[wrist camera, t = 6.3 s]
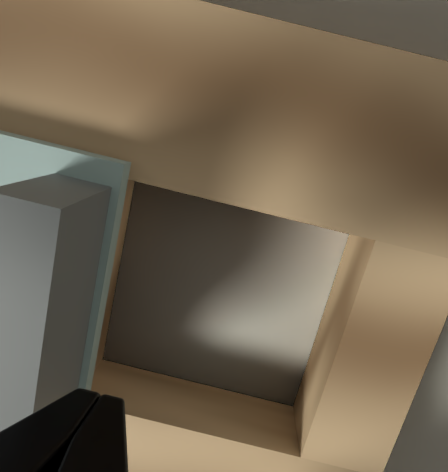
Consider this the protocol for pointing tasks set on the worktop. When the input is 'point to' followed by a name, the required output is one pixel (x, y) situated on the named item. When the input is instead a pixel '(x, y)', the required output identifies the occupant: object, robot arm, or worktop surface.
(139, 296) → the worktop surface
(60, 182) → the cover
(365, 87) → the wooden board with hole
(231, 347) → the worktop surface
